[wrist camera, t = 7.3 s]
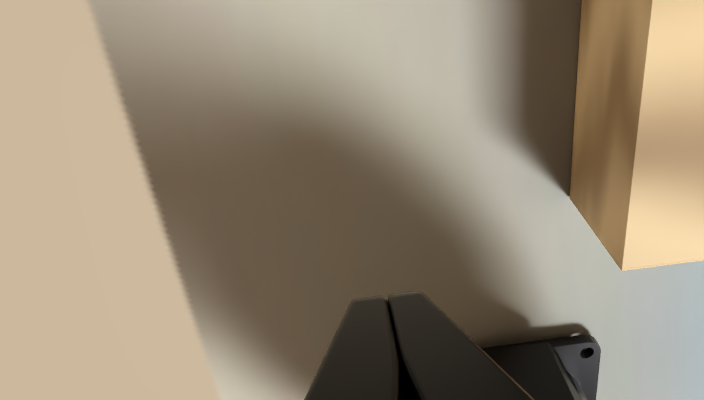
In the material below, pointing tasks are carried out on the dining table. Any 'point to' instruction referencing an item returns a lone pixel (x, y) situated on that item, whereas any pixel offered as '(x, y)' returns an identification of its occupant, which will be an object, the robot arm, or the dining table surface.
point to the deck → (641, 129)
